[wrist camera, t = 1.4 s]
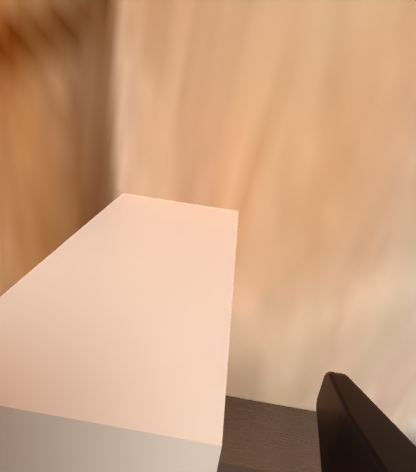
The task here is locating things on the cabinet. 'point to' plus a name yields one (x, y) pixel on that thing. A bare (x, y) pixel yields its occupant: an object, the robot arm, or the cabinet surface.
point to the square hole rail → (268, 438)
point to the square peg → (121, 344)
